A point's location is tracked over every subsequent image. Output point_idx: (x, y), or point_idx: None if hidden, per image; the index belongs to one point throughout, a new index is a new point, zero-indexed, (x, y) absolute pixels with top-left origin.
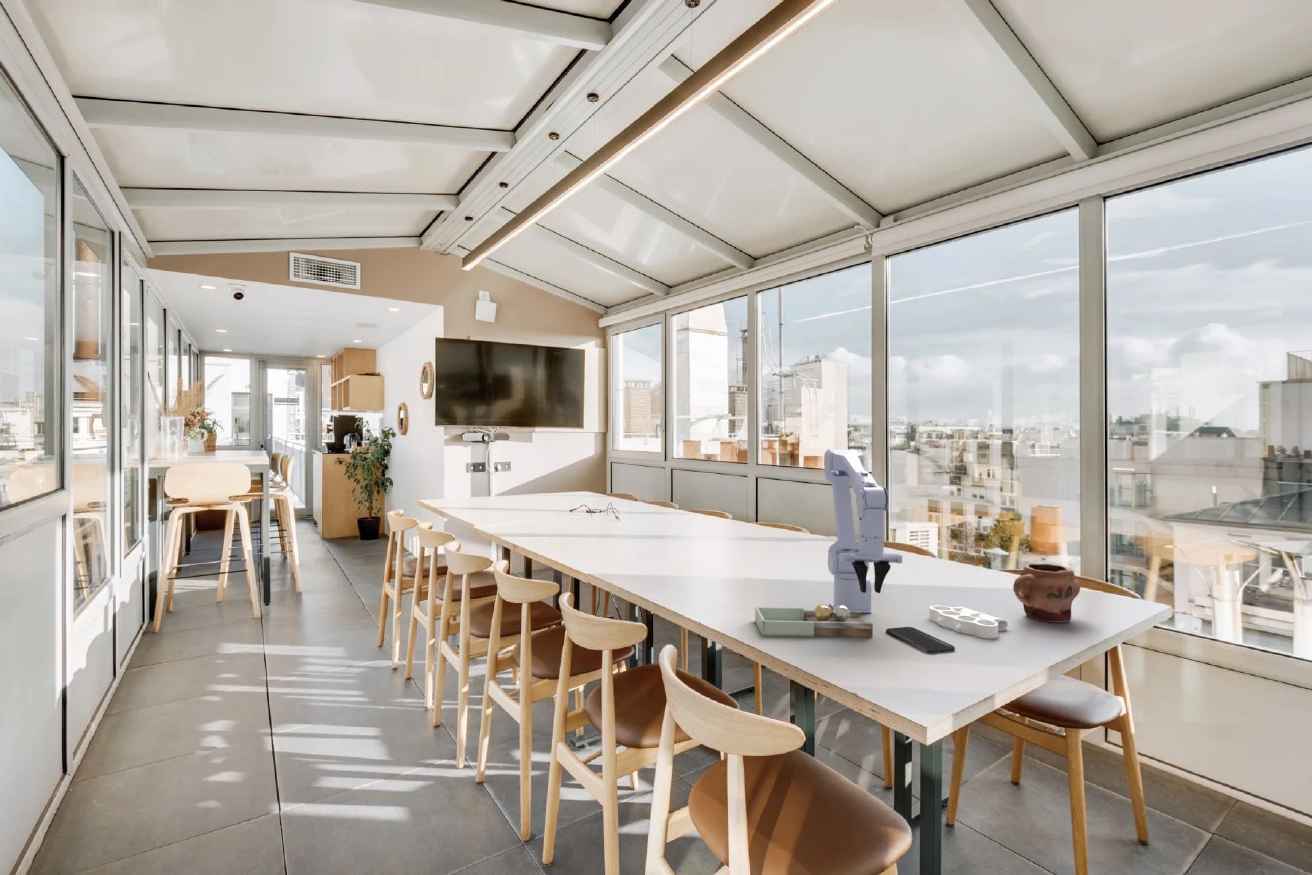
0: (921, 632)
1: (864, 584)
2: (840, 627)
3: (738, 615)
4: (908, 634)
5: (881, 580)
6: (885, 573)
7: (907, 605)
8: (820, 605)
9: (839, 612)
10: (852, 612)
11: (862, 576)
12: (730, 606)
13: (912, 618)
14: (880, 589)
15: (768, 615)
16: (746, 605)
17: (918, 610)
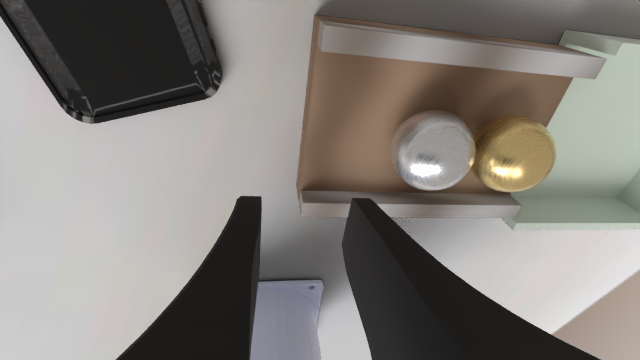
0: (27, 41)
1: (393, 232)
2: (477, 39)
3: (617, 237)
4: (114, 9)
5: (227, 265)
6: (161, 340)
7: (46, 354)
8: (545, 170)
9: (465, 127)
10: (337, 201)
11: (457, 288)
12: (579, 294)
13: (47, 248)
14: (237, 209)
15: (600, 206)
16: (536, 303)
17: (8, 321)
